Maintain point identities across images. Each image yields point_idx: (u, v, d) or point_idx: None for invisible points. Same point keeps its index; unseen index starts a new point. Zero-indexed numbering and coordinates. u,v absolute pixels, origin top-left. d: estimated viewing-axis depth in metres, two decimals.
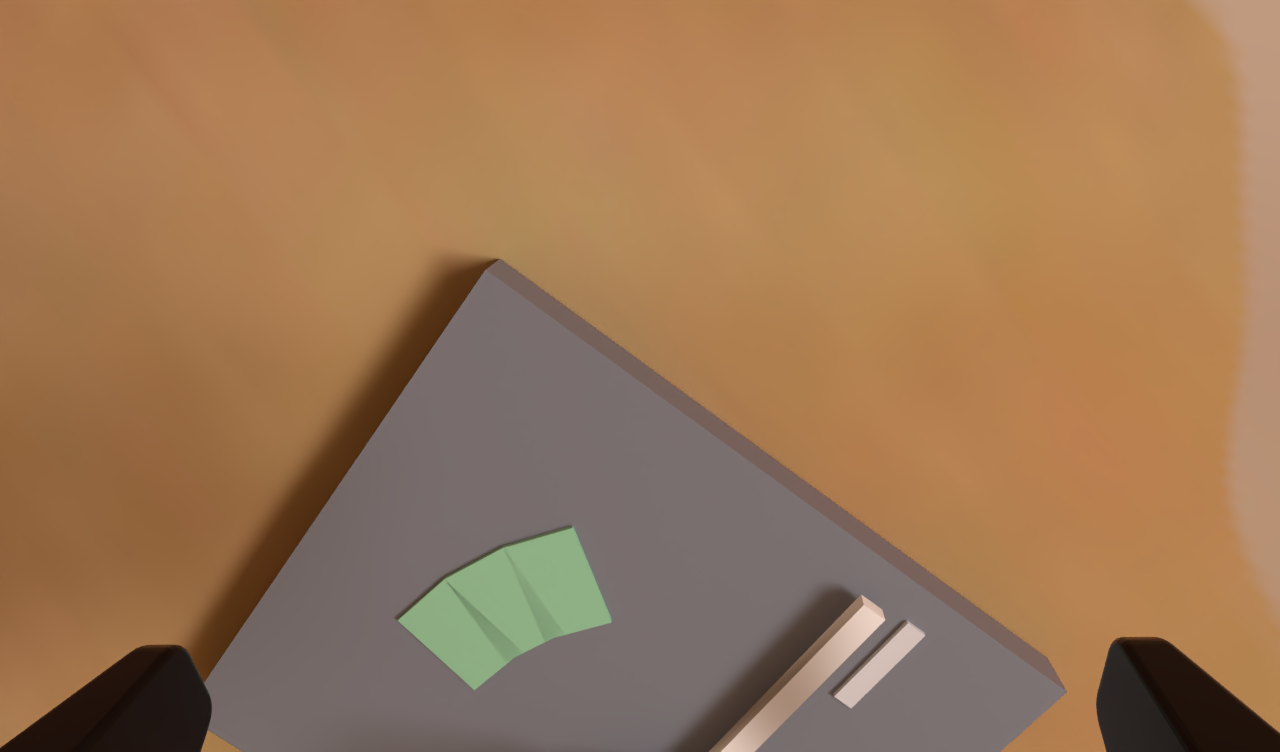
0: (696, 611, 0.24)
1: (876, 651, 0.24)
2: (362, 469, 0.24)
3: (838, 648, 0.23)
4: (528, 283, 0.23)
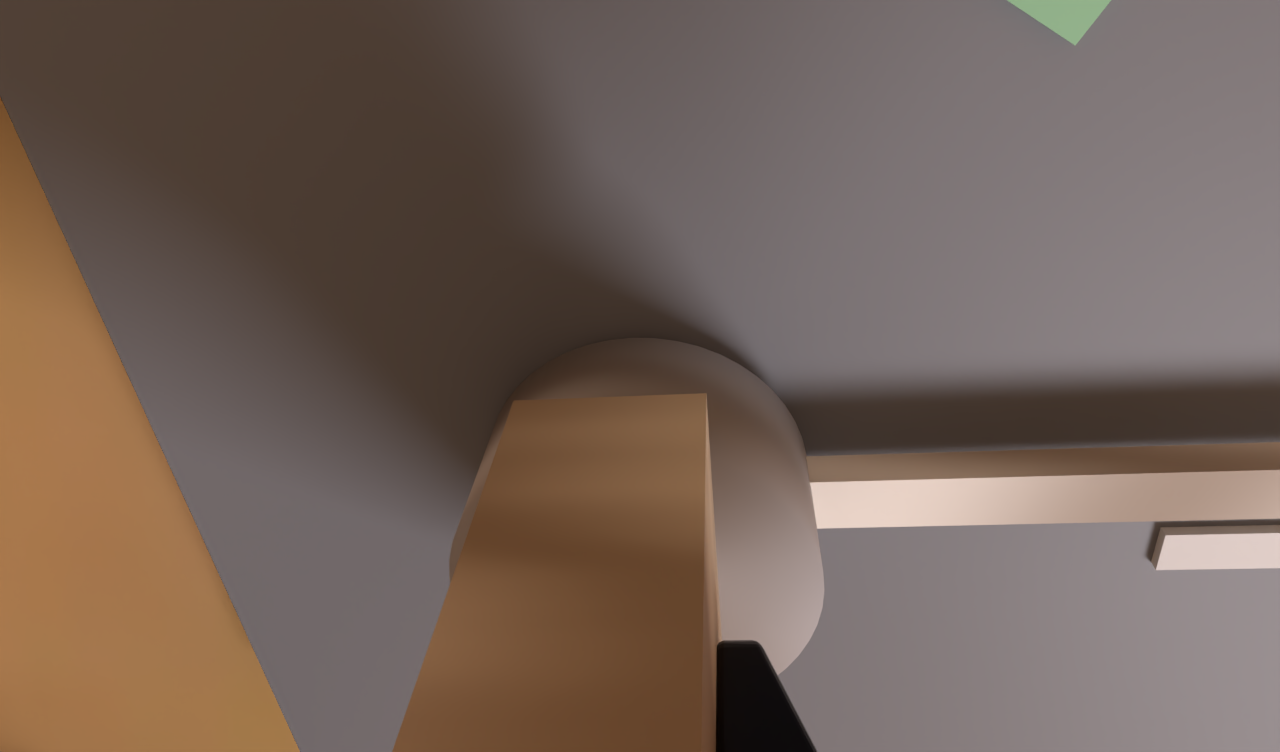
0: (1216, 194, 0.09)
1: None
2: None
3: None
4: None
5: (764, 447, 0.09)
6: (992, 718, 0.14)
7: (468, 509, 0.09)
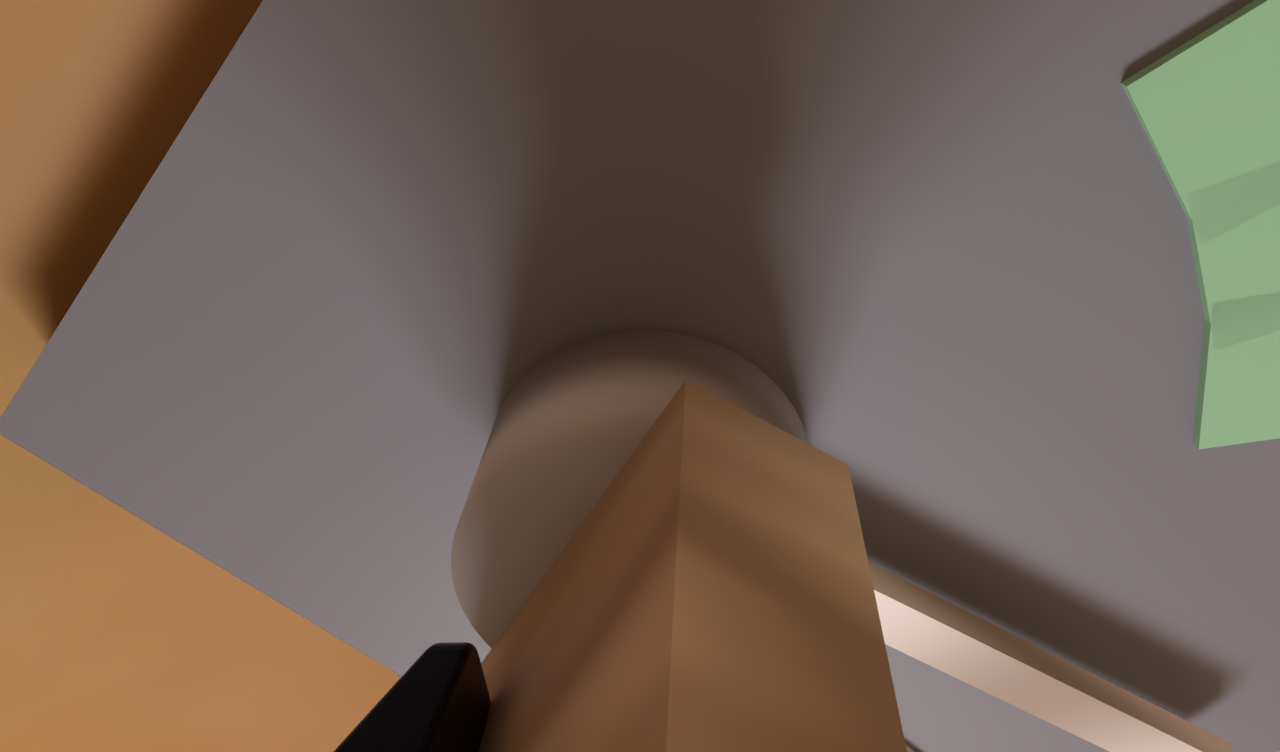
0: (1147, 583, 0.12)
1: None
2: None
3: (1155, 750, 0.12)
4: None
5: None
6: None
7: (555, 444, 0.09)
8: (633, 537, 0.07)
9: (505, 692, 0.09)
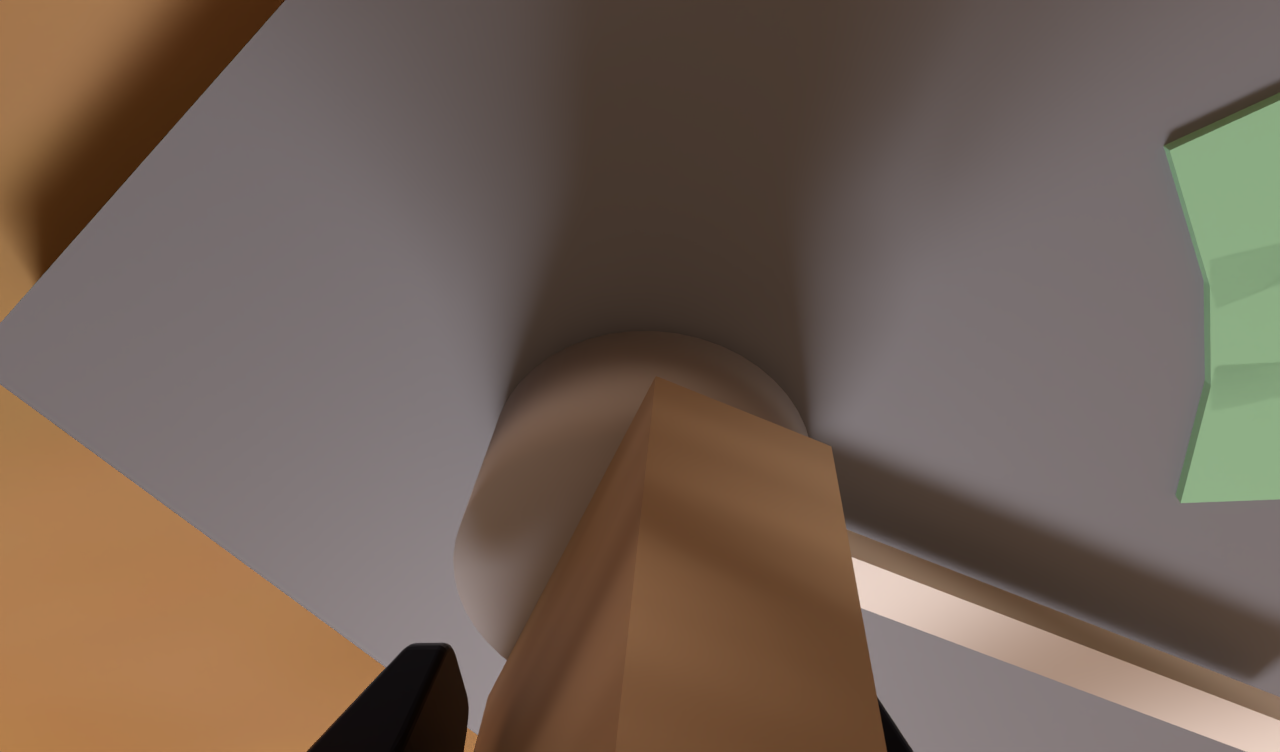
0: (1111, 626, 0.12)
1: None
2: None
3: (1207, 714, 0.12)
4: None
5: None
6: None
7: (537, 452, 0.09)
8: (608, 537, 0.07)
9: (512, 702, 0.09)
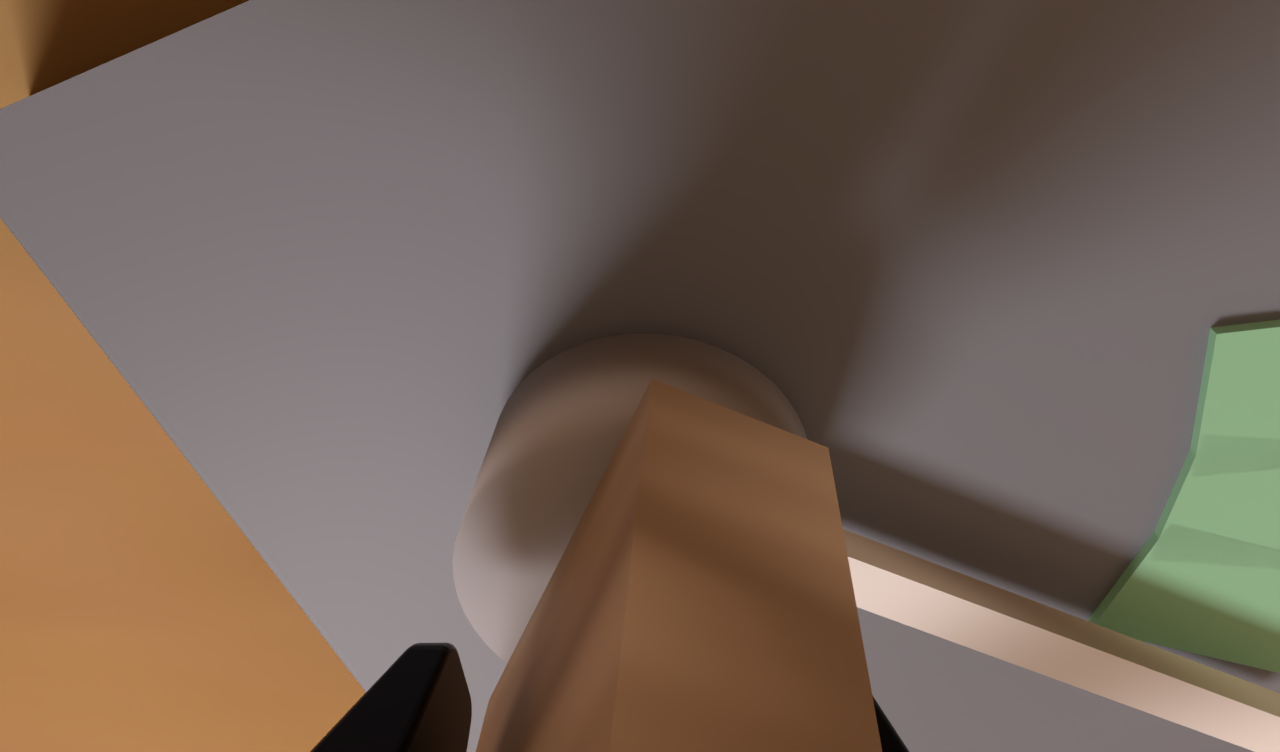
0: (986, 716, 0.14)
1: None
2: None
3: (1210, 713, 0.12)
4: None
5: None
6: None
7: (535, 455, 0.09)
8: (605, 540, 0.07)
9: (512, 705, 0.09)
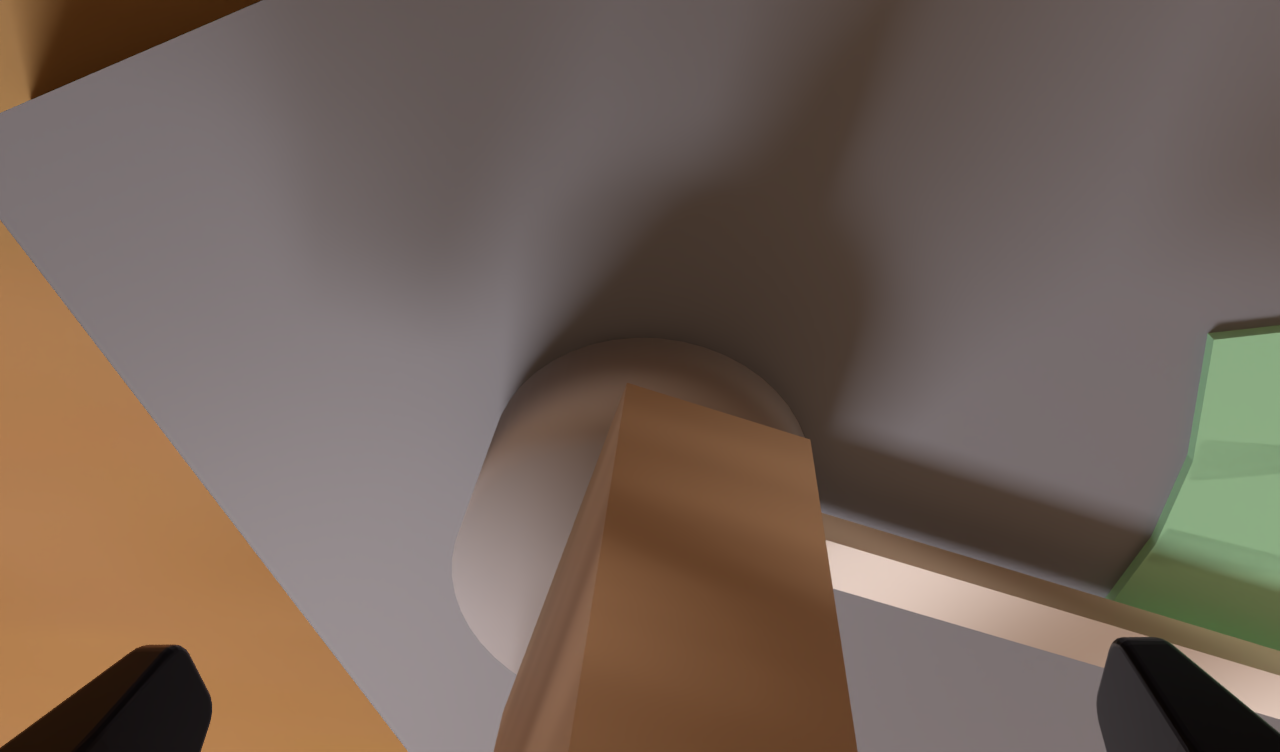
0: (984, 720, 0.14)
1: None
2: None
3: (1243, 686, 0.12)
4: None
5: None
6: None
7: (521, 467, 0.09)
8: (585, 546, 0.07)
9: (516, 715, 0.09)
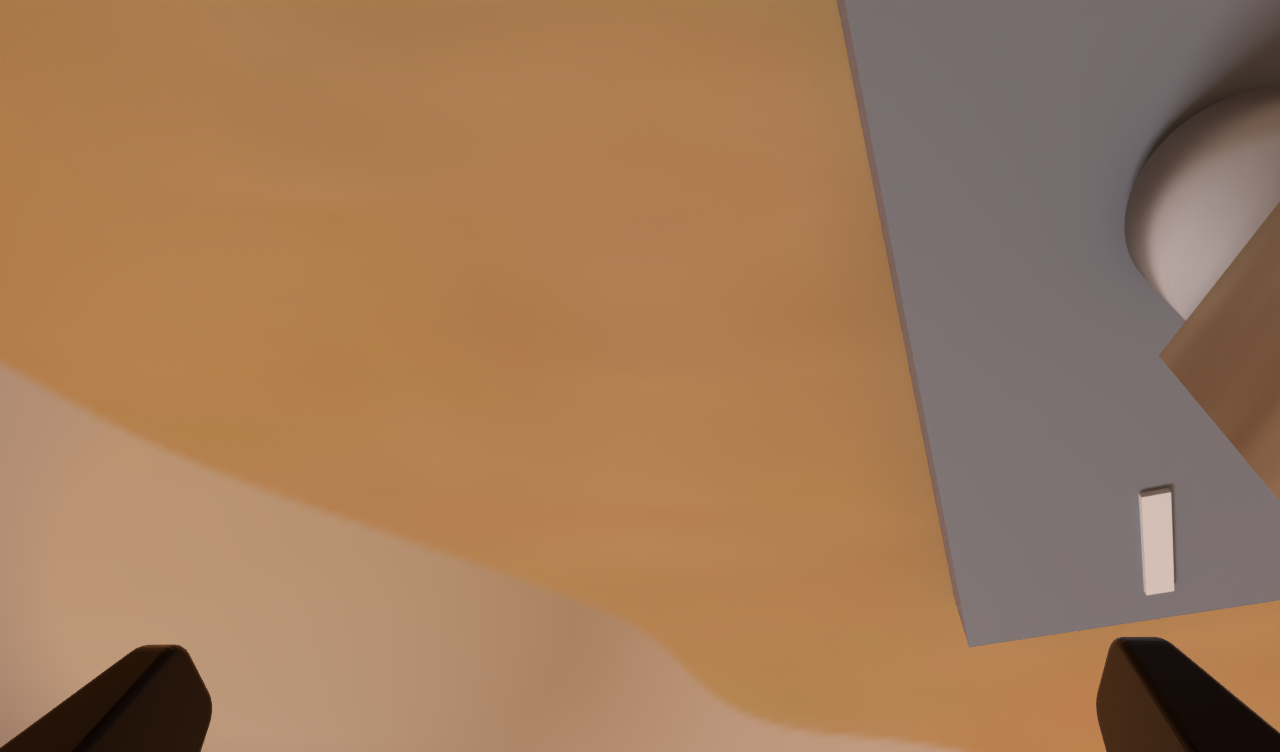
0: None
1: (1168, 547, 0.20)
2: None
3: None
4: None
5: None
6: (979, 462, 0.19)
7: (1276, 140, 0.13)
8: None
9: (1264, 306, 0.13)
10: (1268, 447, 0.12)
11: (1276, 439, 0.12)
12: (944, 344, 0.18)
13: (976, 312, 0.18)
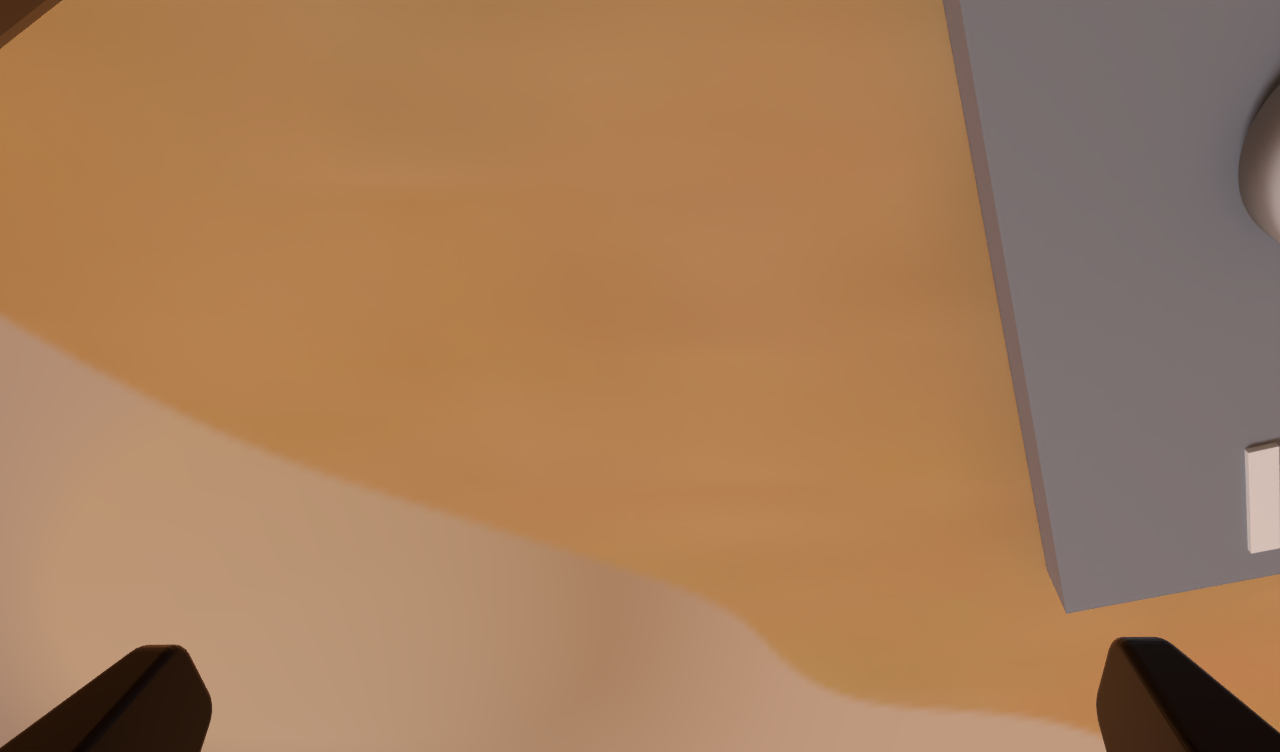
0: None
1: (1274, 503, 0.20)
2: None
3: None
4: None
5: None
6: (1080, 424, 0.19)
7: None
8: None
9: None
10: None
11: None
12: (1047, 303, 0.18)
13: (1080, 269, 0.17)
